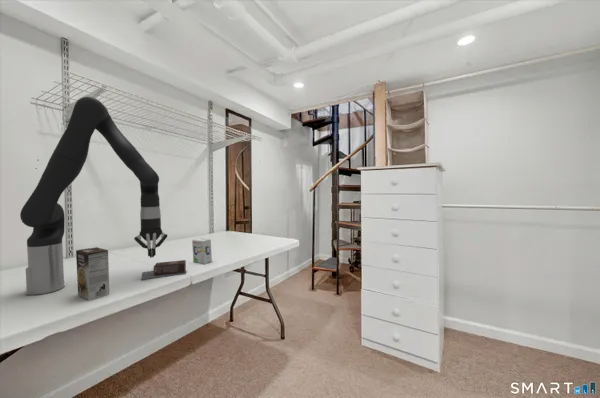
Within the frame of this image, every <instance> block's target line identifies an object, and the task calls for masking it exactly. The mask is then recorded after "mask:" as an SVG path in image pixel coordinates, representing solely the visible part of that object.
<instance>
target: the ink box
mask: <svg viewBox="0 0 600 398" xmlns="http://www.w3.org/2000/svg"><path fill="white" fill-rule="evenodd" d="M211 241H212V239H209V238H203V237H198V238H196V239H192V241H191V243H192V261H193V263H195V264H196V263H197V264H202V265H206V264H208V263H212V262H213V258H212V257H213V256H212V242H211Z"/></svg>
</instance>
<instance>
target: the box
mask: <svg viewBox="0 0 600 398" xmlns="http://www.w3.org/2000/svg"><path fill="white" fill-rule="evenodd" d="M186 264H187V263H186V260H185V259H181V260H174V261H173V260H171V261H163V262H162V261H160V262H156V263H155V264H154V265H153V269H152V270H153V271H154V276H156V275H165V274H174V273H182V272H185V270H187V269H186V268H187V267H186V266H187V265H186Z"/></svg>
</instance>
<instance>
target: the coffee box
mask: <svg viewBox="0 0 600 398" xmlns="http://www.w3.org/2000/svg"><path fill="white" fill-rule="evenodd" d="M75 258H76V260H75V261H76V277H77V278H76V279H77V295H78V296H80V297H81V298H83V299H85V300H86V301H93V300H95V299H98V298H99V299H100V298H101V297H104V296H109V295H110V269H109V268H110V267H109V264H110V263H109V249H105V248H100V247H91V248H82V249H77V250H75Z"/></svg>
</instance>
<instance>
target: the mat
mask: <svg viewBox="0 0 600 398" xmlns="http://www.w3.org/2000/svg"><path fill="white" fill-rule="evenodd" d="M184 274H187V269H185V272H182V273H174V274H165V275H156V276H154V270H150V271H142V272H141V277H140V278H141V280H140V281H146V280H147V279H148V280H152V279H153V278H154V279H159V278H167V277H171V276H179V275H184Z"/></svg>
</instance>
